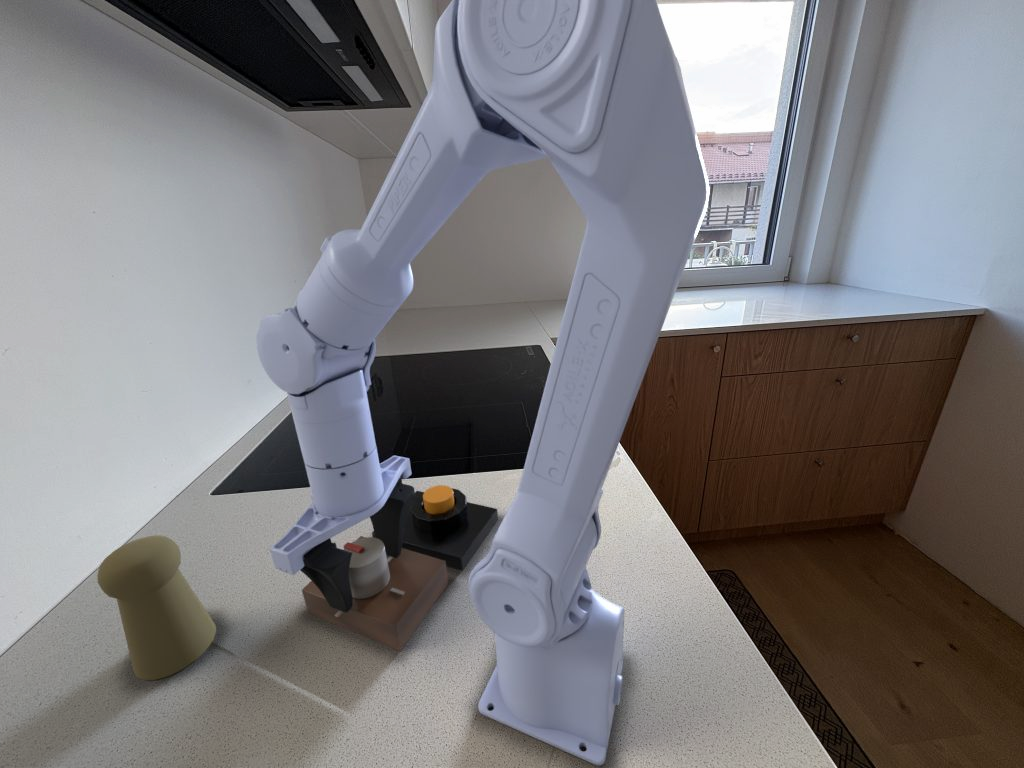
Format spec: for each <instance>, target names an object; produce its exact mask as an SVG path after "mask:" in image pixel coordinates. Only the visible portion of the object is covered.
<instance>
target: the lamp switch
mask: <svg viewBox="0 0 1024 768" xmlns="http://www.w3.org/2000/svg"><path fill="white" fill-rule="evenodd" d="M451 488H452V490H453V494H454V503H455V504H454V507H453V508H452V509H451V510H449V511H447V512H445V513H440V514H430V513H427V512H426V511H425V508H424V501H423V494H424V492H425V491H420V490H416V491H415V497H414V499H413V501H412V504H411V506H410V509H409V511H408V515H407V518H406V522H405V527H404V533H403V541H402V548H403V549H407V550H410V551H413V552H417V553H420V554H423V555H427V556H430V557H434V558H437V559H440V560H444V561H446V567H448V568H451V569H454V570H458V571H461V572H463V571H464V569H465V568H466V567H467V566H468V564H469V562H470V561H471V560H472V558H473V557H474V556H475V554H476V553H477V551H478V549H480V547H481V545H483V543H484V541H485V539H486V538H487V537H488V535H489V534H490V533H491V531H492V529H493V528H494V527H495V525H496V524H497V523H498V521H499V514H498V508H495V507H491V506H486V505H482V504H477V503H474V502H469V501H467V496H466V494H464V493H463V492H462V491H461V490H460V489H457V488H453V487H451ZM371 537H374V538H376V537H375V533H374V530H373V531H372V532H371Z"/></svg>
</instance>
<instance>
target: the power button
mask: <svg viewBox="0 0 1024 768" xmlns="http://www.w3.org/2000/svg"><path fill="white" fill-rule="evenodd" d="M452 488H453V487H451V486H449V485H444V484H439V485H434V486H431V487H429V488H427V489H426V490H425V491H423V492H424V494H423V501H424V508H425V511H426V512H427V513H430V514H440V513H445V512H447V511H449V510H451V509H452V508H453V507H454V504H455V503H454V494H453V490H452Z"/></svg>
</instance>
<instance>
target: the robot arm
mask: <svg viewBox="0 0 1024 768" xmlns="http://www.w3.org/2000/svg"><path fill="white" fill-rule="evenodd" d="M433 43H434V45H433V63H432V64H433V65H432V79H431V83H430V87H429V90H428V92H427V94H426V96H425V98H424V101H423V103H422V105H421V107H420V109H419V111H418V112H417V114H416V117H415V119H414V121H413V123H412V125H411V127H410V129H409V131H408V133H407V135H406V137H405V139H404V141H403V143H402V145H401V147H400V149H399V151H398V153H397V155H396V157H395V159H394V161H393V163H392V165H391V167H390V169H389V171H388V172H387V173H388V174H387V175H386V178H385V179H384V181H383V183H382V185H381V188H380V189H379V192H378V194H377V196H376V198H375V200H374V202H373V204H372V206H371V208H370V210H369V212H368V213H367V216H366V218H365V220H364V222H363V224H362V226H361V228H360V229H357V228H356V229H355V228H353V229H350V228H349V229H344V230H340V231H338V232H336V233H334V235H333V236H327V237H325V239H324V240H323V242H322V244H321V246H320V248H319V251H320V252H321V255H320V258H319V260H318V262H317V263H316V264H315V267H314V268H313V270H312V272H311V274H310V275H309V278H308V279H307V281H306V283H305V284H304V286H303V288H301V289H300V291H299V292H298V294H297V296H296V300H295V302H294V304H293V305H292V307H289V308H288V307H287V308H284V310H283V312H277V313H271V314H268V315H266V316H263V317H262V318H261V320H260V322H259V328H258V329H257V333H256V349H257V354H258V357H259V361H260V363H261V365H262V368H263V370H264V371H265V373H266V375H267V376H268V378H269V379H270V380H271V381H272V382H273V384H274V385H275V386H277V387H278V388H279V389H280V390H282V391H283V392H285V393H286V396H287V399H288V403H289V407H290V411H291V415H292V419H293V422H294V427H295V432H296V435H297V439H298V443H299V448H300V452H301V456H302V459H303V463H304V468H305V471H306V475H307V479H308V484H309V487H310V493H309V496H310V500H311V501H312V502H311V503H310V504H309V506H308V507H307V508H306V509H305V511H304V512H303V513H302V514H301V515H300V517H299V518H298V519H297V521H296V522H294V524H292V526H291V527H290V529H288V531H287V532H286V533H285V534H284V535H283V536H282V537H281V538H280V539H279V540H278V541H277V542H276V543H275V544H273V545H272V546H270V547H269V552H270V554H271V558H272V562H273V565H274V568H275V569H276V570H279V571H281V572H283V573H285V574H289V575H292V576H295V575H297V574H298V572H299V571H300V572H301V573H303V574H304V575H305V576H306V577H307V578H308V579H309V580H310V582H311V581H312V582H313V583H314V584H315V585H316V586H317V587H318V589H319V590H320V591H321V593H322V594H323V596H324V597H325V599H326V600H327V602H328V604H329V605H330V607H332V608H335V609H337V610H340V611H342V612H345V613H346V612H348V611H349V610H350V609H351V608H352V606H353V597H352V592H351V587H350V581H349V567H350V560H351V556H352V553H351V552H348V551H345V550H343V549H342V548H338V546H337V543H336V542H332V538H333V537H335V536H338V535H339V534H341V533H342V532H343V533H344V532H345V531H346V530H348V529H350V528H353V526H356V525H357V524H359V523H361V522H363V521H366V519H368V518H369V520H370V521H371V524H372V528H373V531H374V533H375V537H376V538H378V539H380V540H381V541H382V542H383V543H384V546H385V551H386V555H388V556H391V557H394V558H398V557H399V555H400V554H401V549H402V541H403V533H404V527H405V522H406V518H407V515H408V511H409V509H410V506H411V504H412V501H413V499H414V497H415V492H416V491H415V488H414V486H412V485H410V484H406V483H403V480H406V479H408V478H409V477H410V476H412V473H413V472H412V468H411V460H410V458H409V457H404V456H398V455H392V456H391V457H389V458H387V459H386V460H384V461H383V462H381V463H380V459H379V453H378V447H377V443H376V438H375V431H374V426H373V420H372V414H371V410H370V404H369V399H368V398H369V397H368V393H367V392H368V391H369V390H370V386H371V385H372V381H371V374H370V372H371V371H370V370H371V366H372V364H373V363H374V360H375V356H376V352H377V351H376V348H377V347H376V346H377V345H376V344H377V343H376V338H377V336H379V334H380V332H381V331H382V330H383V329H384V327H386V325H387V324H388V322H390V320H391V319H392V318H393V316H394V315H395V314H396V312H397V311H398V310H399V309H400V307H401V306H402V305H403V303H404V302H405V301H406V299H408V297H409V296H410V294H411V293H412V292H413V289H414V275H413V271H412V267H411V262H412V261H414V259H415V258H416V257H417V255H418V254H420V252H421V251H422V250H423V248H425V246H426V245H427V244H428V243H429V242H430V240H432V239H433V237H434V236H435V235H436V233H438V231H439V230H440V229H441V228H442V226H443V225H444V224H445V223H446V222H447V220H448V219H449V218H451V216H452V215H453V213H454V212H455V211H456V210H457V209H458V207H459V206H460V205H461V204H462V203H463V202H464V201H465V199H466V198H467V197H468V196H469V194H471V192H472V191H473V190H474V189H475V188H476V187H477V186H478V184H479V183H480V182H481V181H482V179H484V177H485V176H486V175H487V174H488V173H489V172H491V171H493V170H496V169H501V168H504V167H505V168H507V167H510V166H515V165H519V164H520V165H521V164H525V163H530V162H535V161H539V160H543V159H547V158H548V160H549V161H550V163H551V164H552V166H553V168H554V169H555V171H556V172H557V174H558V176H559V177H560V179H561V181H562V182H563V183H564V185H565V187H566V188H567V190H568V191H569V193H570V195H571V196H572V198H573V199H574V201H575V202H576V204H577V206H578V207H579V209H580V211H581V212H582V214H583V215H584V218H585V221H586V227H585V231H584V235H583V239H582V242H581V246H580V251H579V255H578V258H577V261H576V265H575V269H574V274H573V276H572V281H571V285H570V289H569V293H568V297H567V300H566V304H565V308H564V312H563V316H562V319H561V323H560V327H559V331H558V335H557V339H556V342H555V346H554V350H553V355H552V358H551V361H550V365H549V370H548V373H547V377H546V381H545V384H544V388H543V393H542V397H541V400H540V404H539V407H538V411H537V416H536V419H535V424H534V428H533V431H532V435H531V439H530V443H529V446H528V450H527V454H526V458H525V463H524V466H523V469H522V473H521V477H520V481H519V485H518V488H517V491H516V493H515V496H514V498H513V499H512V501H511V503H510V505H509V507H508V508H507V511H506V513H505V515H504V517H503V518H502V520H501V523H500V525H499V527H498V529H497V531H496V532H495V534H494V537H493V539H492V542H491V546H490V550H489V551H488V552H487V554H486V555H485V557H483V558H482V559H481V560H480V561H478V563H477V564H475V565H474V567H473V568H472V569H471V572H470V574H469V576H468V581H467V590H468V595H469V598H470V600H471V603H472V606H473V607H474V610H475V612H476V613H477V615H478V616H479V619H480V620H481V621H482V622H483V623H484V625H485V626H486V627H487V628H488V629H489V630H491V632H492V633H494V642H495V645H494V646H495V654H496V665H495V667H494V669H493V671H492V673H491V675H490V678H489V680H488V682H487V684H486V685H485V686H486V687H485V688H484V691H483V693H482V695H481V697H480V699H479V700H478V704H477V707H478V708H477V709H478V712H479V714H481V715H483V716H485V717H487V718H489V719H492V720H494V721H496V722H498V723H500V724H502V725H505V726H507V727H509V728H511V729H514V730H517V731H519V732H521V733H523V734H526V735H527V736H530V737H532V738H534V739H536V740H539V741H541V742H543V743H545V744H548V745H550V746H553V747H554V748H557V749H559V750H560V751H563V752H565V753H568V754H571V755H573V756H575V757H576V758H579V759H582V760H583V761H586V762H588V763H590V764H592V765H595V766H602V765H604V763H605V762H606V758H607V752H608V747H609V742H610V736H611V735H610V734H611V730H612V724H613V721H614V715H615V710H616V706H619V705H620V702H621V697H622V690H623V680H624V678H623V676H622V672H623V667H624V660H623V651H624V631H625V608H624V607H623V606H621V605H619V604H616V603H614V602H612V601H610V600H608V599H606V598H605V597H603V596H601V595H600V594H599V593H598V592H596V590H594V589H593V588H592V584H591V583H592V582H591V579H590V576H589V572H588V569H587V564H588V562H589V560H590V558H591V556H592V553H593V551H594V550H595V549H596V547H597V546H598V544H599V542H600V540H601V536H602V524H601V520H600V515H599V505H600V502H601V500H602V496H603V494H604V491H603V490H604V489H603V486H604V484H605V481H606V478H607V476H608V473H609V470H610V469H611V465H612V463H613V460H614V458H615V455H616V452H617V449H618V446H619V445H620V441H621V438H622V436H623V433H624V431H625V429H626V425H627V422H628V420H629V417H630V414H631V412H632V409H633V406H634V403H635V401H636V398H637V397H638V393H639V390H640V388H641V385H642V382H643V380H644V377H645V374H646V372H647V369H648V366H649V363H650V361H651V358H652V355H653V353H654V351H655V348H656V345H657V343H658V339H659V337H660V335H661V331H662V329H663V327H664V324H665V321H666V319H667V316H668V313H669V311H670V308H671V305H672V302H673V300H674V297H675V294H676V292H677V288H678V286H679V284H680V281H681V278H682V275H683V273H684V270H685V267H686V266H687V262H688V260H689V257H690V254H691V252H692V249H693V246H694V243H695V241H696V239H697V235H698V233H699V230H700V228H701V225H702V222H703V219H704V218H705V215H706V212H707V209H708V203H709V202H708V201H709V196H710V185H709V179H708V175H707V170H706V167H705V162H704V159H703V155H702V151H701V147H700V143H699V139H698V136H697V135H698V134H697V131H696V128H695V124H694V120H693V115H692V111H691V107H690V103H689V99H688V96H687V95H688V94H687V92H686V87H685V84H684V78H683V74H682V69H681V65H680V62H679V60H678V57H677V56H676V53H675V51H674V49H673V46H672V43H671V40H670V37H669V35H668V32H667V29H666V27H665V24H664V20H663V18H662V14H661V11H660V8H659V5H658V3H657V1H656V0H451V1H450V3H449V4H448V5H447V7H446V8H445V10H444V11H443V12H442V14H441V15H440V16H439V19H438V20H437V22H436V24H435V29H434V42H433ZM489 708H493V709H492V710H489ZM583 747H584V748H585V749H586V750H585V751H582V750H581V748H583Z"/></svg>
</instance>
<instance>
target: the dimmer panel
mask: <svg viewBox="0 0 1024 768" xmlns="http://www.w3.org/2000/svg"><path fill="white" fill-rule="evenodd" d="M361 538H366V536H362V535H361V536H359V537H358V538H357V539H356V540H358V539H361ZM386 556H387V561H388V567H389V572H390V580H389V582H388V584H387V586H386V587H385V588H384V589H383V590H382V591H381V592H379V593H378V594H376V595H374V596H372V597H369V598H364V599H358V598H354V597H353V606H352V608H351V609H350V610H349V611H348V612H346V613H345V612H342V611H340V610H337V609H335V608H332V607H330V605H329V604H328V602H327V600H326V599H325V597H324V596H323V594H322V593H321V591H320V590H319V589H318V587H317V586H316V585H315V584H314V583H313V582H312V581H311V580H310V581H309V583H307V584H306V585H305V586H304V587H302V589H301V591H302V592H301V593H302V596H303V600H304V603H305V607H306V611H307V614H309V615H311V616H314V617H316V618H318V619H321V620H323V621H326V622H327V623H330V624H332V625H335V626H337V627H341V628H343V629H344V630H348V631H349V632H352V633H354V634H357V635H360V636H362V637H364V638H367V639H369V640H372V641H374V642H376V643H379V644H381V645H384V646H385V647H388V648H390V649H392V650H395V651H398V652H402V650H403V648H404V647H405V646H406V645H407V643H408V642H409V640H410V639H411V637H412V636H413V634H414V633H415V632H416V631H417V629H418V627H419V626H420V625H421V623H422V622H423V621H424V619H425V618H426V617H427V615H428V613H429V612H430V611H431V609H432V608H433V607H434V605H435V604H436V603H437V601H438V599H439V598H440V597H441V595H442V594H443V592H444V591H445V590H446V588H447V587H448V585H449V578H448V577H449V575H448V570H447V566H446V561H444V560H440V559H437V558H434V557H430V556H427V555H423V554H420V553H417V552H413V551H410V550H407V549H403V548H402V549H401V554H400V555H399V557H398V558H394V557H391V556H388V555H386Z"/></svg>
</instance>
